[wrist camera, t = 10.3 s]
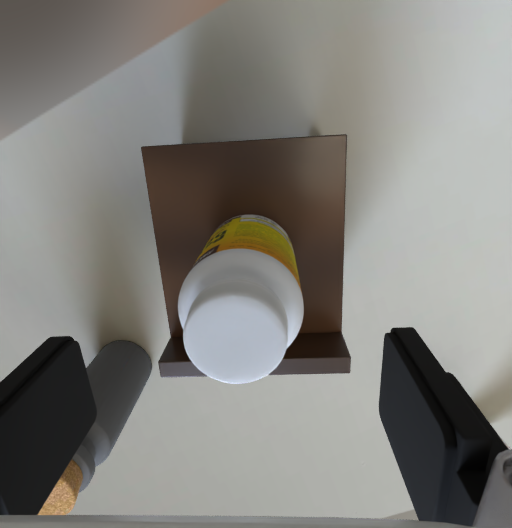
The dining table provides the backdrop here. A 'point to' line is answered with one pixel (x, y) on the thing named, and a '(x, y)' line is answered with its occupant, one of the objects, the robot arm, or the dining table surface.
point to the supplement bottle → (241, 301)
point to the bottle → (102, 418)
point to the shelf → (263, 204)
